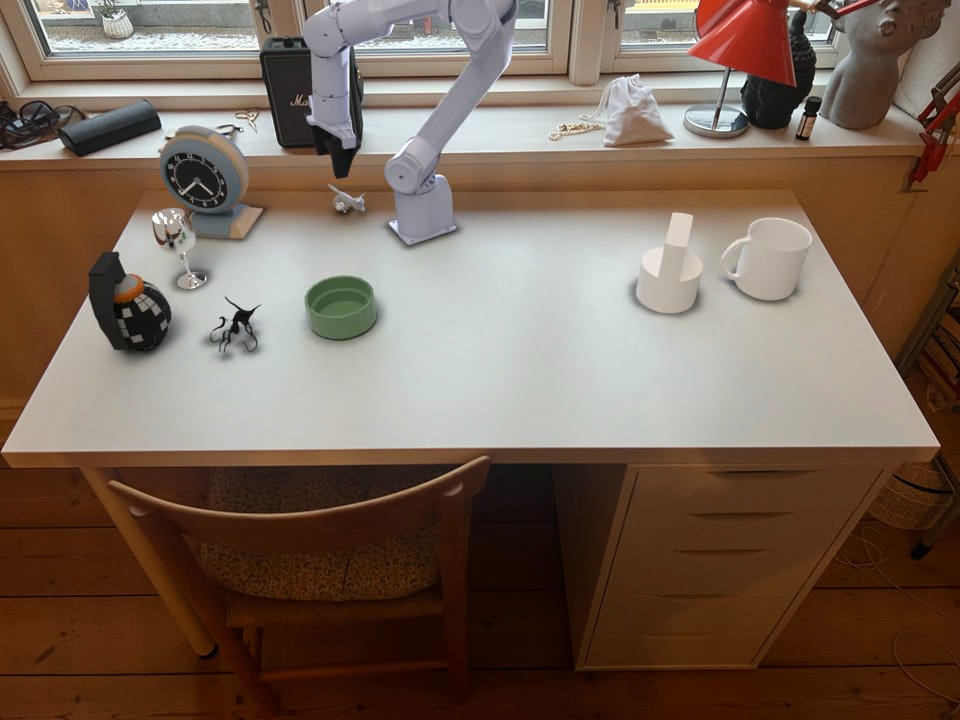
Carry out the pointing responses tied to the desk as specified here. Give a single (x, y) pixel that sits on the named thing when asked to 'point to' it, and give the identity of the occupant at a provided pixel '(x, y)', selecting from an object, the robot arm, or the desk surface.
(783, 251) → the mug
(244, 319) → the creature
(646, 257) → the cylinder with rectangular tab
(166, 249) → the wineglass
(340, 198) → the dog figurine
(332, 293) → the bowl
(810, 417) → the desk surface
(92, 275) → the grenade
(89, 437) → the desk surface
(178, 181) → the alarm clock
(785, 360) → the desk surface
